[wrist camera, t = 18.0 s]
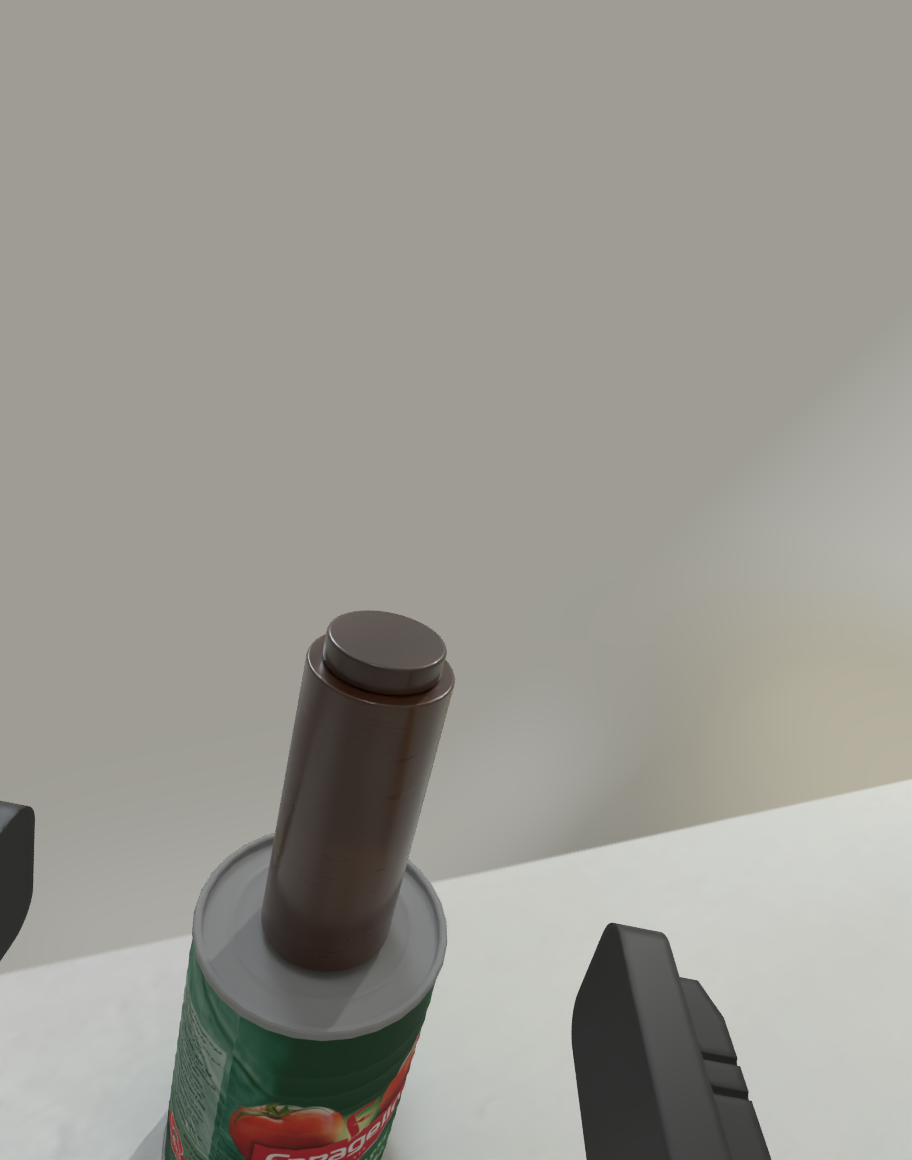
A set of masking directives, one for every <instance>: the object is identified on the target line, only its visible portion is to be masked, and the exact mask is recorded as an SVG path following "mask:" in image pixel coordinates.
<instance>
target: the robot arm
mask: <svg viewBox="0 0 912 1160" xmlns="http://www.w3.org/2000/svg"><path fill="white" fill-rule="evenodd" d="M34 827H35V816H34V811H33V809H32V808H31V807H29V806H24V805H18V804H14V803H9V802H3V801H0V960H1V959H2V958H3V956H4V955H5V953H6V952H7V950H8V949H9V947H10V946H11V944H12V943H13V941H14V940H15V938H16V936H17V935H18V933H19V931H20V929H21V927H22V925H23V923H24V920H25V918H26V915H27V912H28V909H29V906H30V903H31V898H32V893H33V866H34V865H33V864H34V863H33V862H34V829H35V828H34ZM572 1049H573V1057H574V1064H575V1072H576V1080H577V1088H578V1095H579V1103H580V1111H581V1119H582V1127H583V1134H584V1142H585V1150H586V1158H587V1160H771V1157H770V1154H769V1151H768V1148H767V1145H766V1142H765V1139H764V1136H763V1133H762V1130H761V1127H760V1124H759V1122H758V1119H757V1116H756V1113H755V1110H754V1107H753V1104H752V1101H749V1099H748V1093H749V1092H748V1089H747V1086H746V1083H745V1080H744V1077H743V1074H742V1071H741V1068H740V1066H737V1056H736V1053H735V1050H734V1047H733V1044H732V1041H731V1038H730V1035H729V1032H728V1029H727V1026H726V1023H725V1020H724V1018H723V1016H722V1015H721V1013H720V1012H719V1010H718V1009H717V1007H716V1006H715V1005H714V1003H713V1002H712V1000H711V999H710V997H709V996H708V995H707V993H706V992H705V990H704V989H703V987H702V986H701V984H700V983H699V982H698V981H697V980H692V979H686V978H681V977H679V974H678V971H677V967H676V964H675V961H674V957H673V954H672V950H671V947H670V944H669V941H668V939H667V937H666V936H665V935H664V934H663V933H662V932H657V931H652V930H646V929H641V928H636V927H631V926H626V925H621V924H616V923H610V924H608V925H607V927H606V928H605V930H604V932H603V934H602V936H601V939H600V941H599V944H598V946H597V948H596V951H595V953H594V956H593V958H592V960H591V963H590V965H589V968H588V970H587V972H586V975H585V977H584V980H583V982H582V984H581V987H580V989H579V992H578V994H577V997H576V1001H575V1005H574V1010H573V1017H572Z"/></svg>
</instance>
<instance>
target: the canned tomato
mask: <svg viewBox="0 0 912 1160" xmlns="http://www.w3.org/2000/svg"><path fill="white" fill-rule="evenodd" d="M274 837H275V833H272V834H269V835H265V836H263V837H260V838H258V839H256V840H254V841H252V842H250V843H248V844H246V845H244V846H242V847H241V848H239V849H238V850H237V851H235V852H234V853H232V854H231V855H229V856H228V857H227V858H226V859H225V860H224V861H223V862H222V863H221V864H220V865H219V866H218V867H217V868H216V869H215V870H214V871H213V872H212V874H211V875H210V877H209V879H208V880H207V882H206V883H205V885H204V887H203V888H202V890H201V893H200V896H199V899H198V902H197V905H196V908H195V911H194V919H193V931H192V937H193V939H192V944H191V949H190V953H189V965H188V970H187V977H186V986H185V990H184V1002H183V1005H182V1015H181V1021H180V1028H179V1037H178V1042H177V1052H176V1056H175V1067H174V1071H173V1082H172V1086H171V1096H170V1101H169V1110H168V1121H167V1125H166V1128H165V1132H164V1139H163V1150H162V1160H381V1158H382V1154H383V1151H384V1149H385V1146H386V1143H387V1138H388V1135H389V1133H390V1131H391V1126H392V1122H393V1119H394V1117H395V1114H396V1109H397V1106H398V1104H399V1101H400V1097H401V1093H402V1090H403V1088H404V1085H405V1081H406V1076H407V1074H408V1072H409V1069H410V1064H411V1060H412V1058H413V1055H414V1053H415V1048H416V1044H417V1041H418V1039H419V1037H420V1032H421V1027H422V1025H423V1023H424V1020H425V1016H426V1011H427V1008H428V1006H429V1004H430V1000H431V996H432V991H433V988H434V984H435V981H436V978H437V976H438V974H439V972H440V970H441V968H442V965H443V961H444V956H445V951H446V946H447V926H446V919H445V915H444V912H443V908H442V904H441V902H440V900H439V898H438V896H437V894H436V892H435V890H434V888H433V886H432V885H431V883H430V882H429V881H428V880H427V878H426V877H425V876H424V875H423V873H422V872H421V871H420V870H419V869H418V868H417V867H416V866H415V865H414V864H413V863H412V862H411V861H410V860H408V861H407V865H406V869H405V873H404V876H403V880H402V884H401V888H400V892H399V895H398V899H397V903H396V907H395V910H394V914H393V918H392V922H391V926H390V929H389V933H388V936H387V939H386V941H385V943H384V944H383V946H382V948H381V949H380V950H379V951H378V952H377V953H376V954H375V955H374V956H373V957H372V958H371V959H369V960H368V961H366V962H365V963H363V964H361V965H359V966H357V967H354V968H351V969H349V970H344V971H338V972H319V971H313V970H309V969H305V968H302V967H300V966H297V965H295V964H293V963H291V962H289V961H288V960H286V959H285V958H283V957H282V956H281V955H280V954H279V953H278V952H277V951H275V949H274V948H273V947H272V946H271V944H270V943H269V941H268V940H267V938H266V936H265V933H264V931H263V927H262V922H261V912H262V905H263V899H264V893H265V888H266V882H267V876H268V871H269V865H270V859H271V854H272V848H273V842H274Z"/></svg>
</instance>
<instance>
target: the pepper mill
mask: <svg viewBox="0 0 912 1160" xmlns="http://www.w3.org/2000/svg"><path fill="white" fill-rule="evenodd" d="M445 658H446V646H445V643H444V642H443V640H442V639H441V637H440V636H439V635H438V634H437V633H436V632H434V631H433V630H432V629H430V628H429V627H427V626H426V625H424V624H422V623H420V622H418V621H416V620H413V619H411V618H408V617H405V616H402V615H398V614H394V613H389V612H382V611H355V612H350V613H346V614H343V615H341V616H338V617H337V618H335V619H334V620H333V621H332V622H331V623H330V625H329V626H328V628H327V632H326V634H325V635H323V636H321V637H320V638H318V639H317V640H315V641H314V642H313V643H312V645H311V646H310V647H309V649H308V652H307V655H306V661H305V666H304V672H303V678H302V683H301V689H300V695H299V700H298V706H297V712H296V717H295V723H294V729H293V735H292V740H291V746H290V751H289V757H288V763H287V769H286V774H285V780H284V786H283V791H282V797H281V803H280V808H279V815H278V820H277V826H276V831H275V837H274V842H273V848H272V854H271V859H270V865H269V871H268V876H267V882H266V888H265V893H264V899H263V905H262V912H261V922H262V927H263V931H264V933H265V936H266V938H267V940H268V941H269V943H270V944H271V946H272V947H273V948H274V949H275V951H277V952H278V953H279V954H280V955H281V956H282V957H283V958H285V959H286V960H288V961H289V962H291V963H293V964H295V965H297V966H300V967H302V968H305V969H309V970H313V971H319V972H338V971H344V970H349V969H351V968H354V967H357V966H359V965H361V964H363V963H365V962H366V961H368V960H369V959H371V958H372V957H373V956H374V955H375V954H376V953H377V952H378V951H379V950H380V949H381V948H382V946H383V944H384V943H385V941H386V939H387V936H388V933H389V929H390V926H391V922H392V918H393V914H394V910H395V907H396V903H397V899H398V895H399V892H400V888H401V884H402V880H403V876H404V873H405V869H406V865H407V861H408V857H409V854H410V850H411V846H412V842H413V838H414V835H415V831H416V827H417V823H418V820H419V816H420V812H421V808H422V804H423V801H424V797H425V793H426V790H427V786H428V782H429V778H430V774H431V771H432V767H433V763H434V759H435V755H436V752H437V748H438V744H439V740H440V737H441V733H442V729H443V725H444V721H445V718H446V713H447V710H448V706H449V703H450V699H451V695H452V691H453V688H454V683H455V678H454V674H453V670H452V668H451V666H450V665H449V663H448V662H447V661H446V660H445Z"/></svg>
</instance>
